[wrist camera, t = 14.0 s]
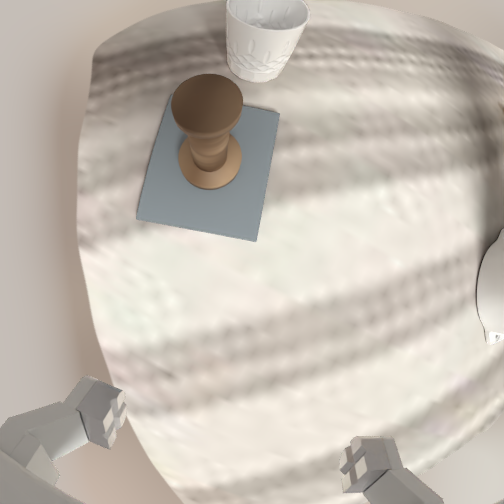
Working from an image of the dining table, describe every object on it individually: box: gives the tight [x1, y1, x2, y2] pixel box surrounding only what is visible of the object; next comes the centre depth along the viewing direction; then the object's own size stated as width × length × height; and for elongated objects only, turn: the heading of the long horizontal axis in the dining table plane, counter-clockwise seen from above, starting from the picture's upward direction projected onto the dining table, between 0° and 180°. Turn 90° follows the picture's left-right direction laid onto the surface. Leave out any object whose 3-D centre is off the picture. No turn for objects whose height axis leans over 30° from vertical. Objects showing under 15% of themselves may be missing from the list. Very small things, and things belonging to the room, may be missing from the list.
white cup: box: [226, 0, 310, 82], centre depth 24 cm, size 8×8×10 cm
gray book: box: [136, 95, 280, 242], centre depth 28 cm, size 12×14×1 cm
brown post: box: [171, 74, 243, 190], centre depth 22 cm, size 6×6×12 cm
